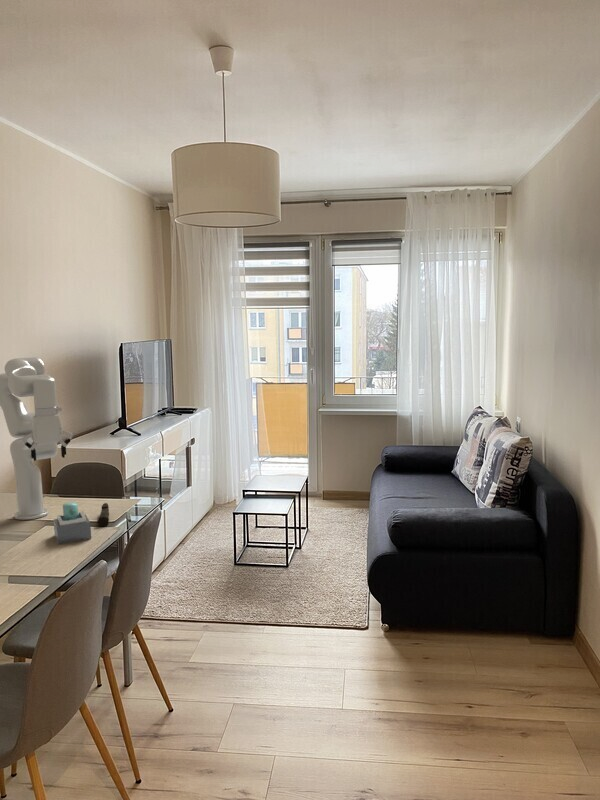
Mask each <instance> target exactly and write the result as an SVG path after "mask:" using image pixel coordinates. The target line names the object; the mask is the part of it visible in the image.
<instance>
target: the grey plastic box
mask: <svg viewBox="0 0 600 800" xmlns="http://www.w3.org/2000/svg"><path fill="white" fill-rule="evenodd" d="M78 515H79V518H77V519H70V520H64V515H63V514H59V515H58V514H57V515H56V518H55V519H53V529H54V530H53V531H54V537H55V539H56V542H57V544H58V545H62V544H63V543H64V544H68V543H75V542H80V541H81V542H82V541H85V540H86V541H87V540H92V530H91V522H90V520H89V518H88V516H87V515H86V514H85V513H84V512H83V511H78ZM64 544H63V545H64Z"/></svg>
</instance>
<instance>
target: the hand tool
mask: <svg viewBox="0 0 600 800" xmlns="http://www.w3.org/2000/svg"><path fill="white" fill-rule="evenodd" d="M109 516H110V508H109V504H108V502H104V503H103V504H102V505H101V511H100V515H99V517H98V518H97V526H98V527H107V526H108V525H109V523H110V522H109V521H110V519H109Z"/></svg>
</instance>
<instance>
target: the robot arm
mask: <svg viewBox="0 0 600 800" xmlns="http://www.w3.org/2000/svg"><path fill="white" fill-rule="evenodd" d="M4 371H5V372H3V373H0V409H2V413H3V416H4V420H5V423H6V426H7V429H8V433H9V434H10V436H11V437H12V438H14V440H13V441H12V442H11V443H10V446H9V451H10V452H9V453H10V455H11V459H12V464H13V468H14V478H15V479H14V481H15V492H16V493H15V494H16V502H17V512H16V513H14V515H13V518H15V520H21V521H25V520H34V519H39V518H43V517H45V516H47V515H48V514H49V510H48V509H47V508H44V499H43V498H44V496H43V495H44V494H43V482H42V473H41V469H40V468H39V467H38V466H37V465H36V464H35V463H34V461H39V460H47V459H51V458H55V457H56V456H57V454H58V451H59V449H58V443H59V444H61V446H60V453H61V454H60V455H61V457H62V458H63V459H64V458H65V455H67V446H68V444H70V442H71V440H72V439H73V436H74V434H73V433H72V432H70V431H68V430H65V429H63V426H62V425H63V423H62V419H61V415H60V414H59V413H60V412H62V407H59V406H58V401H57V386H56V385H57V384H56V379H55V378H54V377H52V376H50V375H49V374H46V366H45V363H44V361H43V360H42V359H41V358H39V357H17V358H11V359H10V360H8V361H7V362H6V363H5V364H4ZM25 397H26V398H27V397H33V403H34V404H33V405H34V412H32V413H31V412H30V413H29V412H28V411H27V408H26V405H25V403H24V402H23V401H22V400H21V399H20V398H25ZM64 435H65V436H67V438H66V439H65V440H64Z"/></svg>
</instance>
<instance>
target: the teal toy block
mask: <svg viewBox="0 0 600 800" xmlns="http://www.w3.org/2000/svg"><path fill="white" fill-rule="evenodd" d="M78 512H79V504H78V502H75V501H73V502H67V503H63V504H62V515H64V520H70V519H77V518H79V515H78Z"/></svg>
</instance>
